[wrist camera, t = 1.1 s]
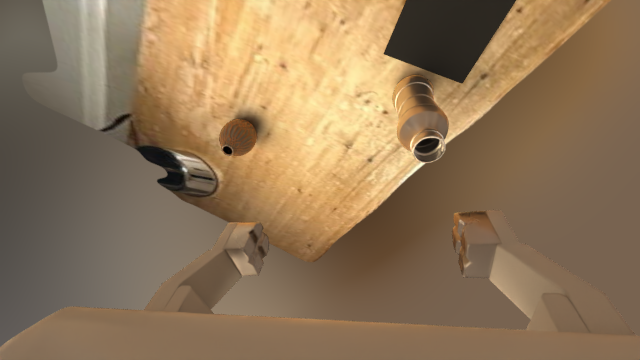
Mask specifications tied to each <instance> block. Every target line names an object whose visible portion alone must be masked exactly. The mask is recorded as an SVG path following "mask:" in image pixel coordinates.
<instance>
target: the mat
mask: <svg viewBox="0 0 640 360" xmlns="http://www.w3.org/2000/svg"><path fill="white" fill-rule="evenodd" d="M515 1H516V0H406V3H405V5H404V7H403V10H402V12H401V15H400V17H399V19H398V22H397V24H396V26H395V29H394V31H393V33H392V36H391V38H390V40H389V43H388V45H387V47H386V50H385V52H384V54H385V55H388V56H390V57H393V58H396V59H398V60H401V61H404V62H406V63H409V64H412V65H414V66H417V67H420V68H422V69H425V70H428V71H430V72H433V73H436V74H438V75H441V76H443V77H446V78H449V79H451V80H454V81H457V82H459V83H463V82H464V80H465V79H466V77H467V75H468V74H469V72H470V71H471V69H472V68H473V66H474V65H475V63H476V62H477V60H478V58H479V57H480V55H481V54H482V52H483V51H484V49H485V48H486V46H487V45H488V43H489V41H490V40H491V38H492V37H493V35H494V34H495V32H496V31H497V29H498V28H499V26H500V24H501V23H502V21H503V20H504V18H505V17H506V15H507V14H508V12H509V11H510V9H511V7H512V6H513V4H514V3H515Z"/></svg>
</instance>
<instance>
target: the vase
mask: <svg viewBox="0 0 640 360" xmlns="http://www.w3.org/2000/svg"><path fill="white" fill-rule="evenodd" d="M256 139H257V134H256V130H255V128H254V127H253V125H252V124H251V123H249V122H248V121H246V120H243V119H235V120H232V121H230V122H228V123H227V124H226V125H225V126H224V127H223V128H222V130H221V132H220V136H219V141H220V145H221V147H222V148H221V149H222V152H223V153H224V154H225V155H227V156H232V155H233V156H241V155H244V154H246V153H248V152H249V151H250V150H251V149H252V148H253V147H254V145H255V143H256Z"/></svg>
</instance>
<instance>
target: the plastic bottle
mask: <svg viewBox="0 0 640 360" xmlns="http://www.w3.org/2000/svg"><path fill="white" fill-rule="evenodd" d="M392 100H393V105H394V107H395V109H396V111H397V112H398V115H399V120H398V126H397V137H398V140H399V142H400V143H401V144H402V146H403V147H404V148H406V149H407V150H409V151H411V152H412V154H413V156H414V158H415V159H416V160H417V161H419V162H422V163H430V162H434V161H436V160H438V159H439V158H440V157H441V156H442V155H443V154H444V152H445V142H444V139H445V138H446V135H447V132H448V127H449V123H448V119H447V116H446V115H445V113H444V112H443V111H442V110H441V109H440V108H439V107H438V106H437V105H436V103H435V101H434V89H433V86H432V84H431V82H430V81H429V80H428V79H426V78H425V77H423V76H420V75H411V76H408V77H406V78H404V79H403V80H401V81H400V82H399V83H398V85H397V86H396V88H395V90H394V93H393V99H392Z"/></svg>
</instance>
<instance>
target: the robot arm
mask: <svg viewBox="0 0 640 360" xmlns="http://www.w3.org/2000/svg"><path fill="white" fill-rule="evenodd" d="M453 220H454V224H455V227H454V228H453V231H452V237H453V245H454V248H455V252H456V253H457V254H458V255H459V265H460V268H461V272H462V275H463V277H467V278H468V277H469V278H489V280H490V281H491V282H493V284H495V285H496V286H497V287H498V288H499V289H500V290H501V291H502V292H503V293H504V294H505V295H506V296H507V297H508V298H509V299H510V300H511V301H512V302H513V303H514V304H515V305H516V306H517V307H518V308H519V309H520V310H522V311H523V312H524V313H525V314H526V315H527V316H528V317H529V318H530V319H531V320H530V322H529V325H528V327H527V329H526V330H516V329H497V328H477V327H458V326H439V325H418V324H399V323H379V322H360V321H340V320H321V319H302V318H282V317H263V316H244V315H224V314H214V313H213V312H212V311H211V308H212V307H214V305H215V304H216V303H217V302H218V301H219V300H220V299H221V298H222V297H223V296H224V295H225V294H226V293H227V292H228V291H229V290H230V289H231V287H233V286H234V285H235V283H236V282H237V281H238V280H239V279H240V278H241V277H242V276H258V275H259V273H260V271H261V268H262V266H263V260H262V259H263V258H264V257H265V256H266V255H267V253H268V250H269V239H268V236H267V234H265V233H264V232H262V230H263V226H262V224H261V223H260V222H239V223H229V224H227V225H226V227H225V229H224V230H223V232H222V234H221V235H220V237H219V239H218V240H217V242H216V243H215V245H214V247H213V249H212V250H208V251H207V252H205V253H204V254H202V255H201V256H200V257H198V258H197V259H195V260H194V261H193V262H191V263H190V264H189V265H187V266H186V267H185V268H183V269H182V270H180V271H179V272H178V273H177V274H175V275H174V276H172V277H171V278H170V279H168V280H167V281H165V282H164V283H163V284H162V285H161V286H160V287H159V289H158V290H157V292H156V293H155V295H154V296H153V297H152V299H151V300H150V302H149V303H148V305H147V306H146V307H145V309H144V310H128V309H109V308H90V307H66V308H63V309H61V310H59V311H57V312H55V313H53V314H52V315H50V316H48V317H46V318H44V319H43V320H41V321H39V322H38V323H36V324H34V325H33V326H31V327H29V328H28V329H26V330H24V331H23V332H21V333H20V334H18V335H16V336H15V337H13V338H12V339H10V340H9V341H8V342H6V343H5V344H4V345H2V346H1V347H0V360H640V336H636V335H635V334H634V332H633V331H632V330H631V328H630V327H629V325H628V324H627V323H626V321H625V320H624V319H623V318H622V316H621V315H620V313H619V312H618V311H617V309H616V308H615V307H614V305H613V304H612V303H611V301H610V300H609V298H608V297H607V296H606V294H605V293H603V292H602V291H600V290H599V289H597V288H595V287H594V286H592V285H590V284H589V283H587V282H586V281H584V280H582V279H581V278H579V277H578V276H576V275H574V274H573V273H571V272H570V271H568V270H566V269H565V268H563V267H562V266H560V265H558V264H557V263H555V262H554V261H552V260H550V259H549V258H547V257H545V256H544V255H542V254H541V253H539V252H538V251H536V250H534V249H533V248H531V247H529V246H528V245H526V244H520V242H519V241H518V239H517V237H516V235H515V234H514V232H513V230H512V228H511V227H510V225H509V223H508V221H507V220H506V218H505V216H504V214H503V213H502V211H500V210H490V211H474V212H456V213H454V219H453Z"/></svg>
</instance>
